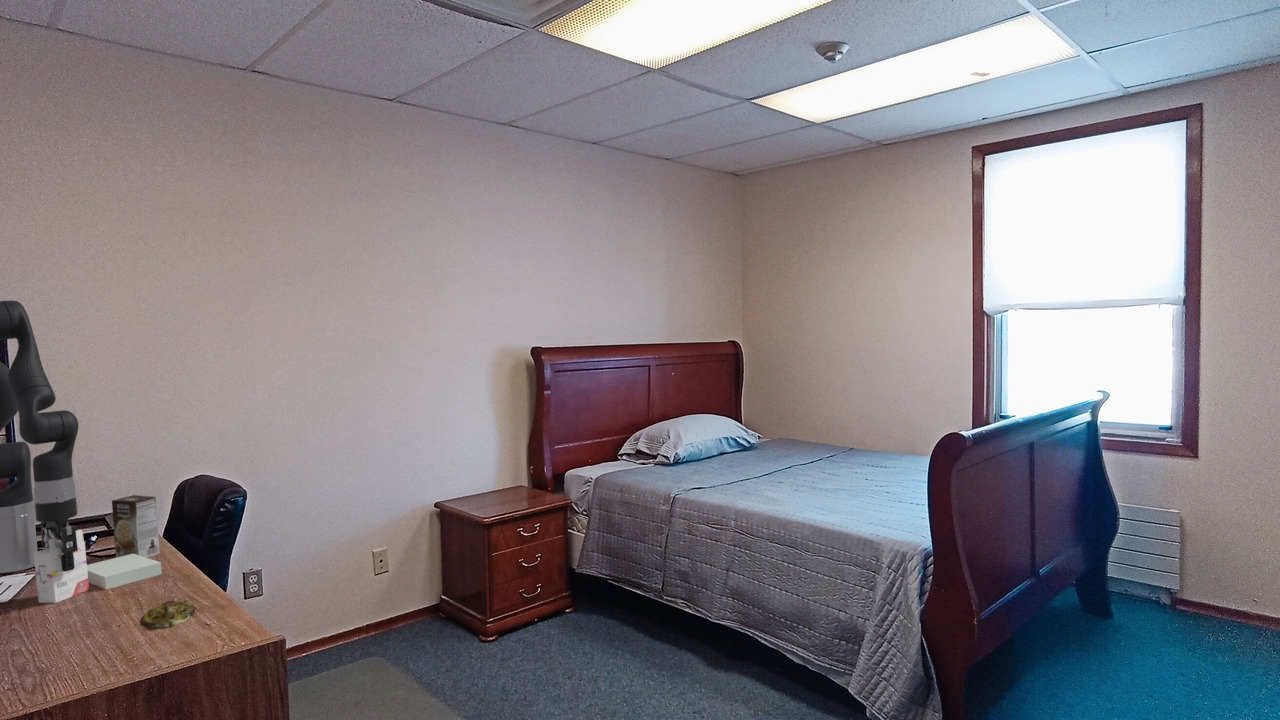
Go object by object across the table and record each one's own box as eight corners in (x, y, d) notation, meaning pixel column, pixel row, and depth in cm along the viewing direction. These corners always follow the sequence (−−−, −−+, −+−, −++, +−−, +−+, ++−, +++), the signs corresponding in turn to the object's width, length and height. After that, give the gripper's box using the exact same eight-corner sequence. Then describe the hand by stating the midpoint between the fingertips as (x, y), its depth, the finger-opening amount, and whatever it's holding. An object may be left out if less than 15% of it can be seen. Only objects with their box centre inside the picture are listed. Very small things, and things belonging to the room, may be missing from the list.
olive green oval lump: (142, 618, 159) (147, 638, 147) (137, 597, 159) (142, 616, 147) (191, 601, 165) (200, 620, 153) (187, 581, 164) (195, 598, 152)
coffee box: (114, 559, 200) (109, 500, 200) (137, 551, 206) (132, 494, 206) (139, 561, 197) (134, 501, 197) (161, 553, 203) (157, 495, 203)
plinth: (79, 578, 184) (78, 567, 184) (134, 564, 194) (133, 553, 194) (106, 589, 175) (105, 577, 175) (161, 574, 185) (160, 562, 185)
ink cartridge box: (72, 589, 176) (67, 528, 176) (90, 590, 175) (84, 528, 174) (36, 603, 168) (31, 539, 167) (54, 603, 167) (49, 539, 166)
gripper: (24, 498, 171) (30, 568, 172) (46, 504, 163) (52, 577, 164) (63, 492, 178) (69, 558, 178) (86, 497, 169) (92, 567, 170)
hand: (61, 567), depth 171 cm, fingers open, 8 cm apart
